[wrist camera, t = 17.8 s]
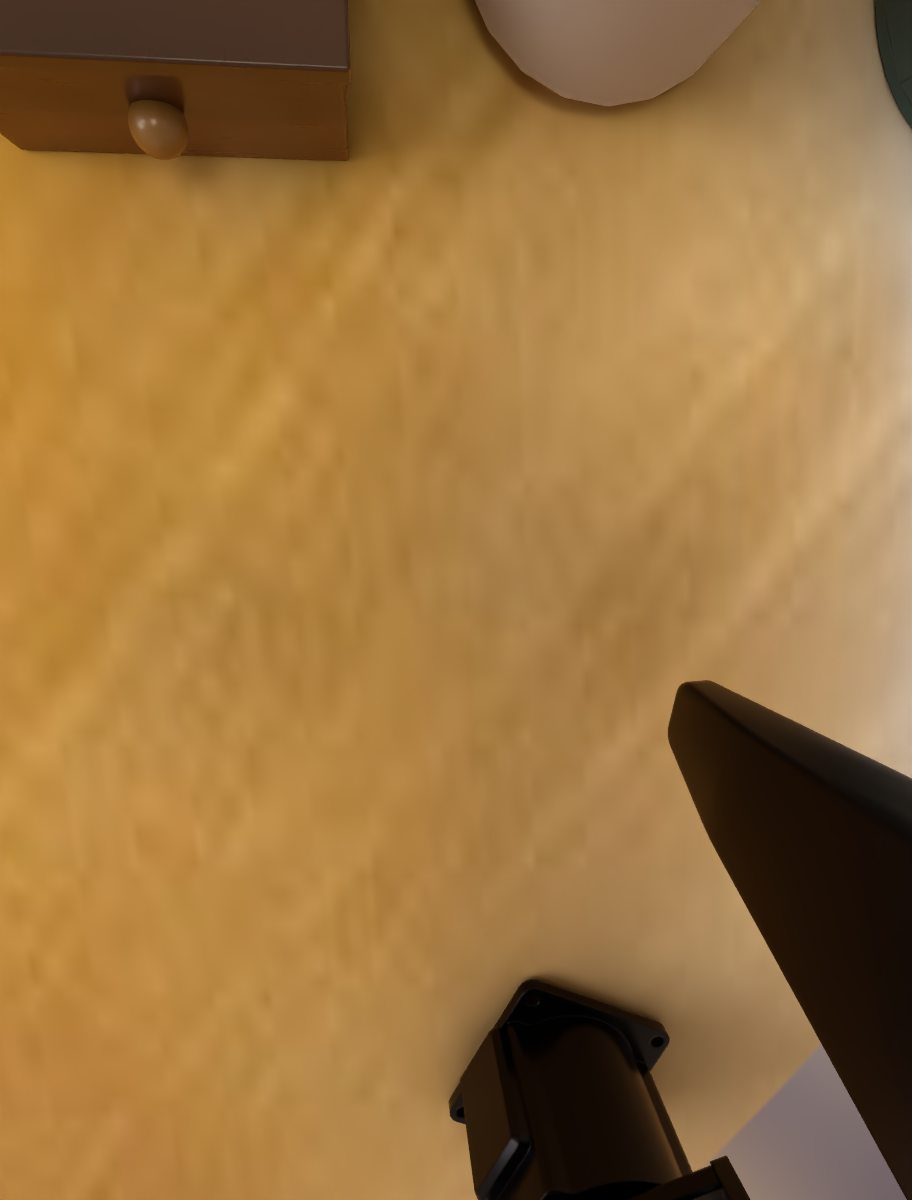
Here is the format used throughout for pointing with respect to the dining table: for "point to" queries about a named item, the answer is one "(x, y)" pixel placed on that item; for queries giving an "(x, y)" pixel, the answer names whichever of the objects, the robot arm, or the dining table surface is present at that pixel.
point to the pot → (897, 49)
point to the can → (611, 42)
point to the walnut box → (176, 77)
